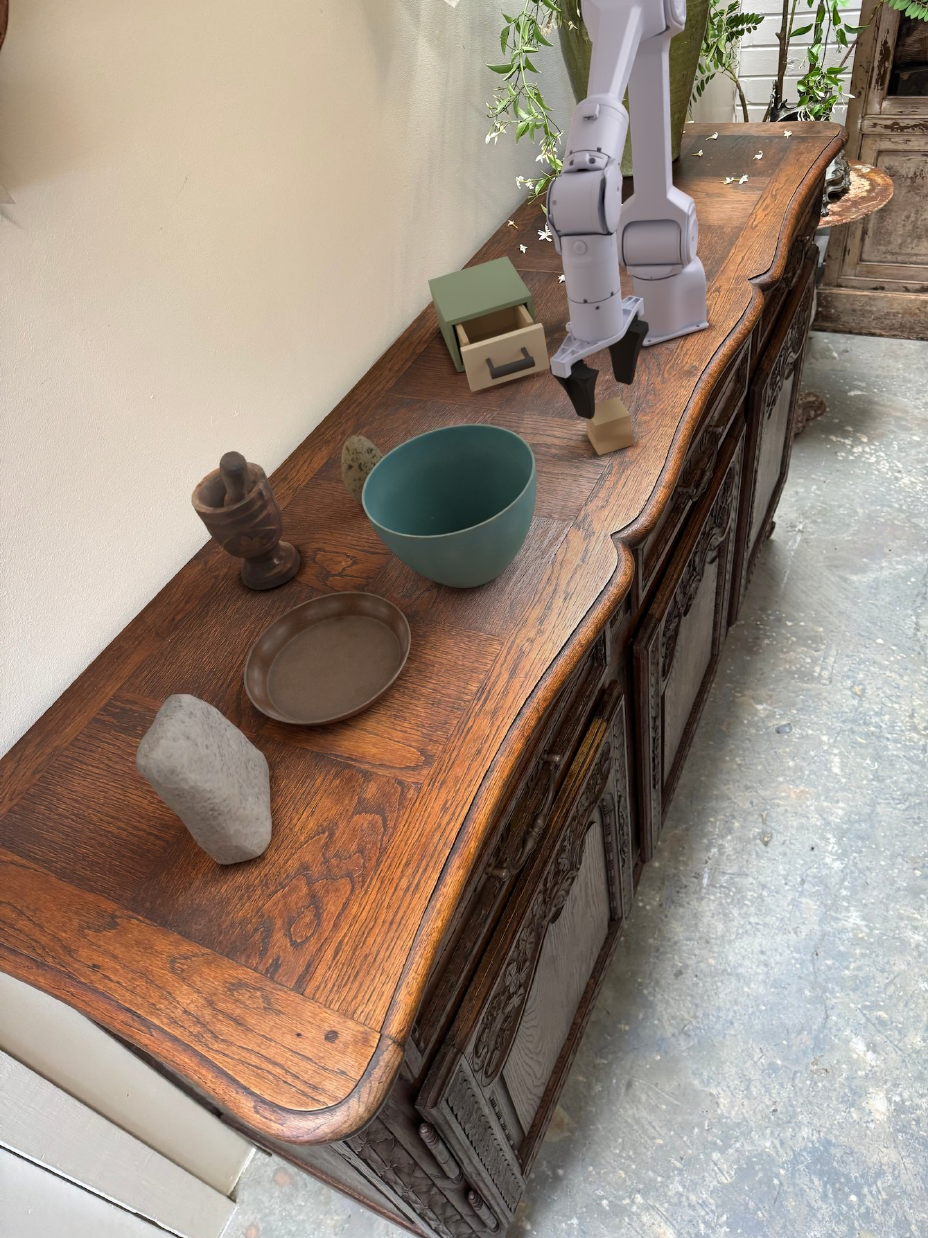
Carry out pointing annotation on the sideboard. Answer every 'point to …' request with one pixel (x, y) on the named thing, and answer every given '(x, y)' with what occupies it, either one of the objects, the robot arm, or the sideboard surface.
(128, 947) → the sideboard surface
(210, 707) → the decorative stone
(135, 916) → the sideboard surface
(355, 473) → the decorative egg
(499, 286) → the cabinet
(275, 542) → the mortar and pestle
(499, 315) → the drawer
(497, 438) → the plant pot
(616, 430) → the block
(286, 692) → the plant saucer
